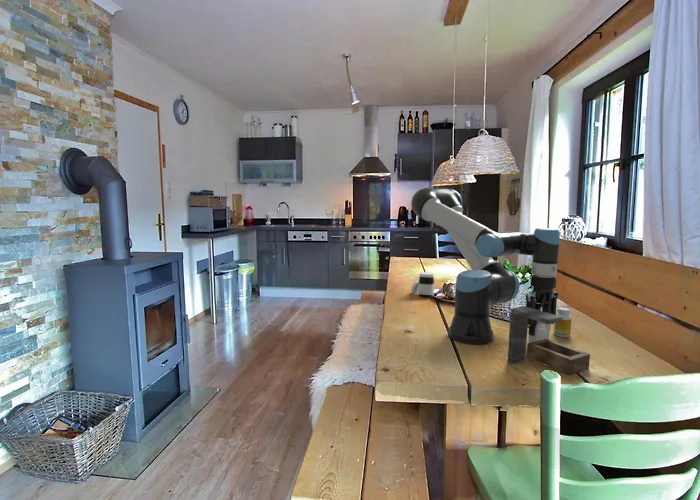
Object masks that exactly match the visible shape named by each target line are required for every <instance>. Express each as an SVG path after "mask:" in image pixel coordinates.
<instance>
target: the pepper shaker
mask: <svg viewBox="0 0 700 500" xmlns="http://www.w3.org/2000/svg"><path fill="white" fill-rule="evenodd" d="M537 326H538V339H537V341H539V340H543V339H546V338H547V329H546V327H545V323H542V322H539V321H538V322H537Z"/></svg>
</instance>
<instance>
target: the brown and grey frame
mask: <svg viewBox="0 0 700 500" xmlns="http://www.w3.org/2000/svg"><path fill="white" fill-rule="evenodd" d="M509 317H510V318H509V319H510V321H509V335H508V346H507V347H508V348H507V350H508V351H507V360H506V361H507V363H508V364H510V363H511V365H513V363H514V364H517V363H521V362H524V361H526V358H527V359H530V360H532V361H534V362H537V363H539V362H540V363H539V364H542V363H543V364H542V365H544V364H546V365H548V366H547V367H549V366H550V367H549V368H551V369H553V370H556V371H559V372H561V373H564V374H566V375H567V376H571V375H574V374H577V373H581V372H583V371H587V370H589V369H590V360H591V354H590V353H587V352H585V351H582V350H580V349H576V348H574V347H571V346H568V345H565V344H563V343H560V342H557V341H554V340H552V339H549V340H548V339H543V340H539V341H535V342H531V343H528V342H527V338H528V329H529V325H528V318H529V319H533V320H536V321H539V322H542V323H545V324H550V325H552V324H551V323H556V322H560V321H562V317H560V316H557V315H553V314H550V313H546V312H543V311H542V310H541V311H539V310H536V309H532V308H529V307H526V305H525V306H518V307H513V308H510V316H509ZM546 365H545V366H546Z"/></svg>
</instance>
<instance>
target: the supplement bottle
mask: <svg viewBox="0 0 700 500" xmlns="http://www.w3.org/2000/svg"><path fill="white" fill-rule="evenodd" d="M570 313H571V310H570V308H566V307H557V309H556V315H557V316H560V317H562V321H560V322H556V323H554V324H553V334H554V336H558V337H560V338H561V337H562V338H569V337H570V336H571V330H572V329H571V328H572V316H571V315H570Z"/></svg>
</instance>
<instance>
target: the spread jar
mask: <svg viewBox="0 0 700 500" xmlns="http://www.w3.org/2000/svg"><path fill="white" fill-rule="evenodd" d="M410 291H411V293H412V294H415V295H416V294H418V297H421V298H424V299H425V298H426V299H429V298H430V299H431V298H433V297H434V295H435V294H434V293H435V278H434V273H433V272H429V271H428V272H427V271H426V272H425V271H422V272H419V277H418V280H417V281H415V282H413V285H412V287H411V289H410Z"/></svg>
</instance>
